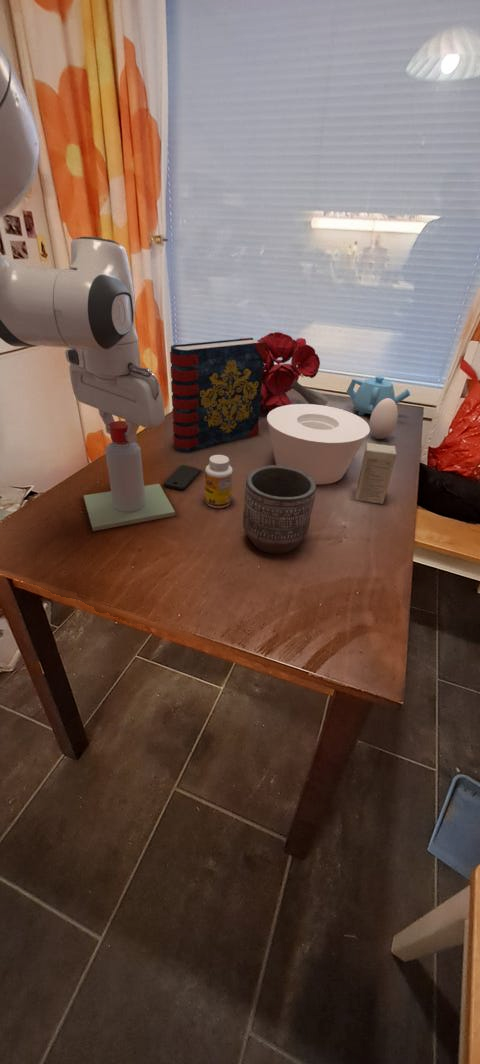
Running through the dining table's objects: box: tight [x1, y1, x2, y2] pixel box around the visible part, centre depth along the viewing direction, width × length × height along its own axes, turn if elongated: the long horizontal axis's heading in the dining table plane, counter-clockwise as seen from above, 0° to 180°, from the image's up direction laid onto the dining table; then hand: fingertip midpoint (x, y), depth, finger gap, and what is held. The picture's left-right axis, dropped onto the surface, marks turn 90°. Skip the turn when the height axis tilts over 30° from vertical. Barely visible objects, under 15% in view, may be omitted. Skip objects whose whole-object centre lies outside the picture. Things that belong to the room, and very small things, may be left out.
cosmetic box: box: [354, 442, 397, 505], centre depth 91 cm, size 6×4×12 cm
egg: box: [368, 398, 399, 440], centre depth 120 cm, size 7×7×12 cm
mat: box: [83, 483, 176, 532], centre depth 85 cm, size 16×12×1 cm
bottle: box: [104, 440, 146, 512], centre depth 80 cm, size 6×6×16 cm
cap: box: [109, 420, 128, 443], centre depth 76 cm, size 4×4×3 cm
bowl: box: [266, 403, 371, 485], centre depth 102 cm, size 24×24×12 cm
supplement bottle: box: [204, 454, 234, 509], centre depth 86 cm, size 6×6×10 cm
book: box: [169, 337, 266, 453], centre depth 108 cm, size 25×7×25 cm, turn 126°
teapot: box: [346, 375, 411, 416], centre depth 137 cm, size 20×17×12 cm
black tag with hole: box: [163, 464, 202, 491], centre depth 96 cm, size 5×1×10 cm
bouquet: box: [256, 331, 329, 412], centre depth 133 cm, size 22×24×30 cm
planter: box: [242, 464, 317, 555], centre depth 76 cm, size 12×12×13 cm
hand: (121, 437), depth 77 cm, fingers closed on cap, 3 cm apart
